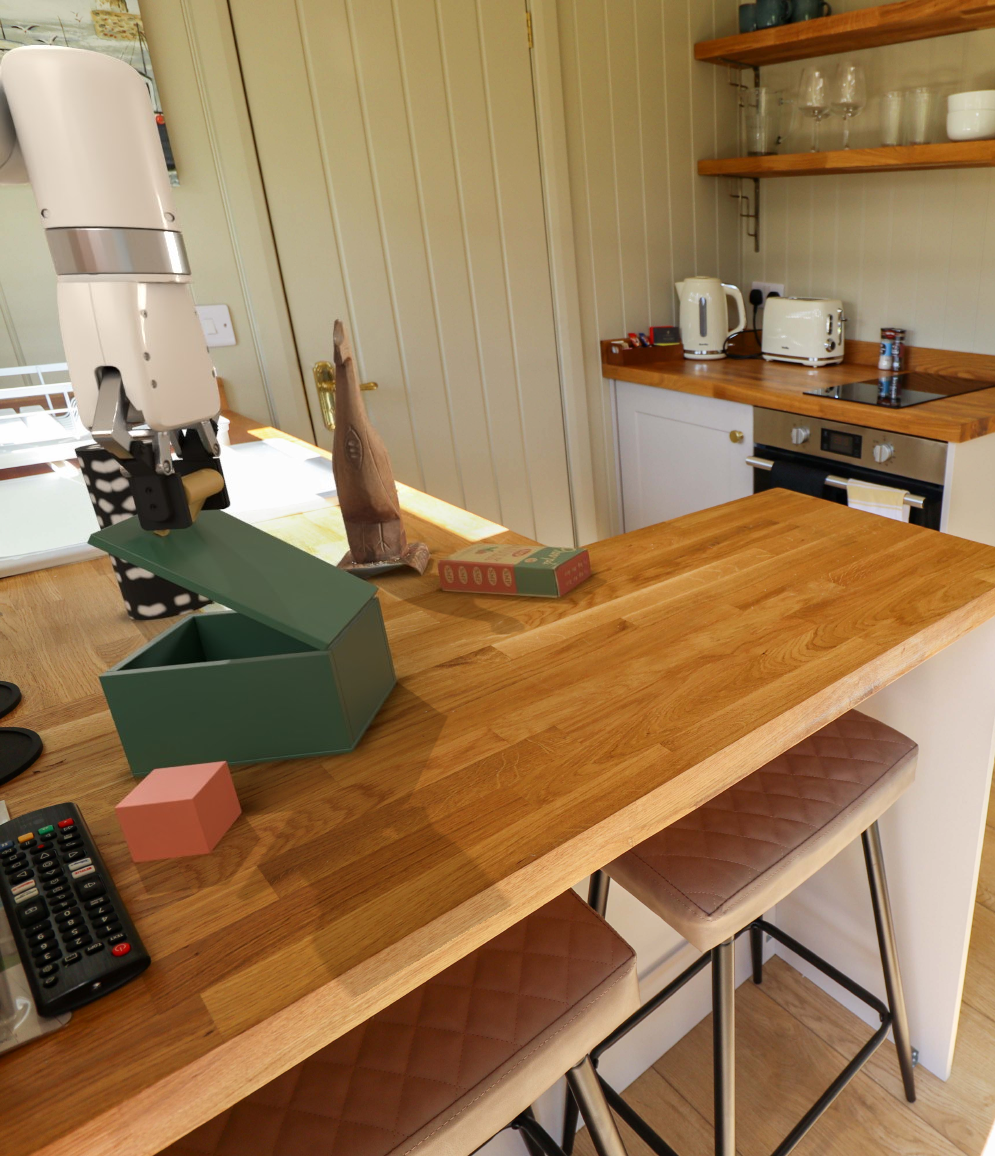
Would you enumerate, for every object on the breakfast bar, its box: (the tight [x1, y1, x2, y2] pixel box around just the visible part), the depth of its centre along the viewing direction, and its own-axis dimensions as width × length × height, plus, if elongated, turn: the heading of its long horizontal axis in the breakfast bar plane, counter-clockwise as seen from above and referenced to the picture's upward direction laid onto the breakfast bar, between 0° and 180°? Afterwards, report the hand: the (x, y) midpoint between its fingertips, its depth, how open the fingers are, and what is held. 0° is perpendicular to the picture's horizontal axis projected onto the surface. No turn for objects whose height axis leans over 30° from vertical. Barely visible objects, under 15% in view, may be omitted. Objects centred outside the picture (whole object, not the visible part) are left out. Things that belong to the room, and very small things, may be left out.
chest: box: [98, 596, 398, 778], centre depth 67 cm, size 16×13×9 cm
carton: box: [437, 542, 592, 599], centre depth 100 cm, size 8×16×4 cm, turn 74°
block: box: [113, 761, 243, 863], centre depth 53 cm, size 4×4×4 cm
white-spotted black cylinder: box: [74, 440, 214, 621], centre depth 95 cm, size 8×8×20 cm
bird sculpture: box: [331, 318, 431, 576], centre depth 103 cm, size 11×12×32 cm
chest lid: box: [86, 468, 380, 652], centre depth 64 cm, size 16×13×5 cm
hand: (188, 516), depth 62 cm, fingers closed on chest lid, 5 cm apart
